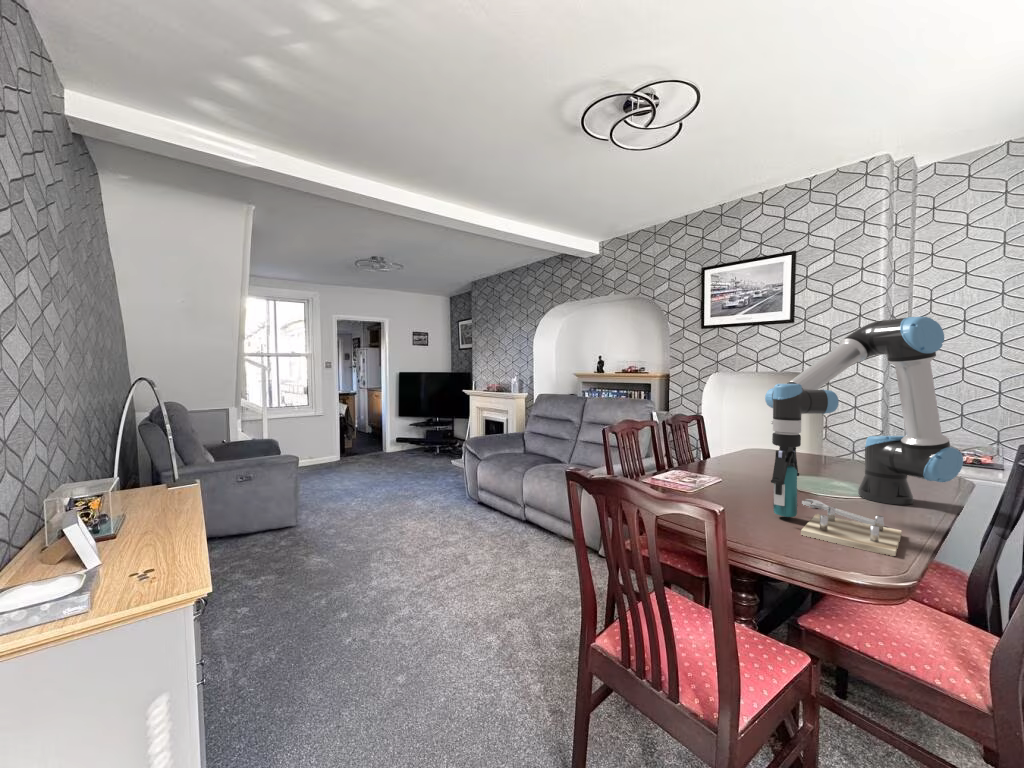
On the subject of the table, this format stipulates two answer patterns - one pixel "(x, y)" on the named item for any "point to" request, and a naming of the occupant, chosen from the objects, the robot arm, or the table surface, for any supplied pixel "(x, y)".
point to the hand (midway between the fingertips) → (785, 500)
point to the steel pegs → (873, 528)
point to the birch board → (854, 535)
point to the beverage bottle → (789, 494)
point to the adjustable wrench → (838, 511)
